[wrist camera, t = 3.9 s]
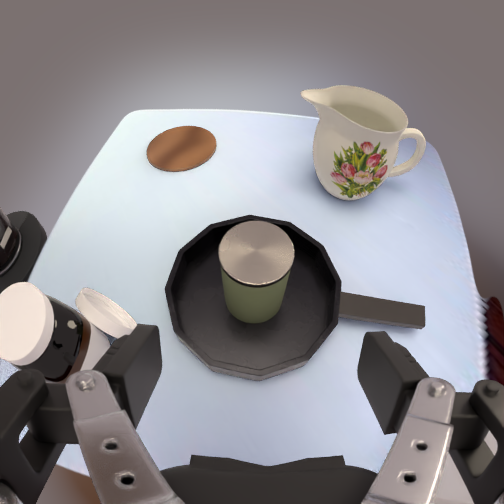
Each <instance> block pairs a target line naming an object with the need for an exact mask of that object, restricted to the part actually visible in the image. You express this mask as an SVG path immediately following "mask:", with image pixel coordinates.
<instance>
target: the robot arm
mask: <svg viewBox="0 0 504 504" xmlns="http://www.w3.org/2000/svg"><path fill="white" fill-rule="evenodd" d="M22 245H23V238H22V235H21V233H20V231H19V230H18V229H17V228H16V227H15V226H14V225H13V224H12V222H11V221H10V220H9V218H8V217H7V216H6V214H5V213H4V212H3V211H2V209H1V208H0V277H2V276H3V275H5V274H6V273H7V272H8V271H9V270H10V269H11V268H12V267H13V266H14V264H15V263H16V261H17V259H18V257H19V255H20V253H21V250H22ZM161 370H162V356H161V346H160V336H159V329H158V327H157V326H155V325H145V324H138V325H137V326H136V327H135V329H134V330H133V331H132V332H131V334H130V335H123V336H122V337H120V338H118V339H116V340H115V341H114V342H113V344H112V345H111V346H110V348H109V349H108V350H107V351H106V352H105V354H104V355H103V356H102V357H101V358H100V360H99V361H98V362H97V363H96V365H95V366H94V367H93V368H92V370H82V371H78V372H76V373H74V374H72V375H70V376H69V377H68V379H67V380H66V383H65V384H60V383H46V380H45V377H44V375H43V373H42V372H41V371H39V370H36V369H23V370H20V371H17V372H15V373H14V374H13V375H11V376H10V378H9V379H8V380H7V381H6V382H5V383H4V384H3V385H2V386H1V387H0V504H36V502H37V500H38V498H39V496H40V494H41V492H42V490H43V488H44V486H45V484H46V482H47V480H48V478H49V476H50V474H51V472H52V470H53V468H54V466H55V464H56V462H57V460H58V458H59V457H60V455H61V453H62V451H63V449H64V447H65V445H66V444H79V445H80V448H81V451H82V454H83V457H84V460H85V463H86V466H87V469H88V471H89V474H90V477H91V479H92V482H93V484H94V487H95V489H96V492H97V494H98V497H99V499H100V502H101V504H433V503H434V500H435V497H436V494H437V491H438V488H439V484H440V481H441V478H442V474H443V471H444V467H445V463H446V459H447V455H448V452H449V454H450V456H451V458H452V460H453V462H454V464H455V466H456V468H457V469H458V471H459V473H460V475H461V477H462V479H463V481H464V483H465V485H466V487H467V489H468V492H469V494H470V496H471V498H472V500H473V502H474V504H504V386H503V385H501V384H500V383H498V382H496V381H492V380H480V381H478V382H477V383H476V384H475V386H474V389H473V391H472V393H466V392H455V389H454V387H453V386H452V385H451V384H450V383H449V382H447V381H446V380H443V379H440V378H434V377H429V376H428V375H427V373H426V372H425V371H424V370H423V368H422V367H421V366H420V365H419V363H418V362H416V360H415V359H414V357H413V356H412V355H411V354H410V353H409V351H408V350H407V349H406V348H405V347H403V346H401V345H400V344H398V343H396V342H395V343H394V342H393V341H392V339H391V338H390V337H389V336H388V334H387V333H386V332H385V331H380V332H366V334H365V336H364V339H363V344H362V349H361V354H360V359H359V363H358V370H357V373H358V380H359V382H360V384H361V386H362V388H363V390H364V392H365V394H366V397H367V399H368V401H369V403H370V405H371V407H372V409H373V411H374V413H375V416H376V418H377V420H378V422H379V424H380V426H381V428H382V431H383V433H384V435H386V434H392V433H397V436H396V439H395V441H394V443H393V445H392V447H391V449H390V451H389V453H388V455H387V457H386V459H385V461H384V463H383V465H382V467H381V469H380V471H379V473H378V474H377V473H375V472H373V471H370V470H367V469H364V468H360V467H355V466H348V465H345V462H344V458H343V455H341V456H331V457H319V458H306V459H302V460H298V461H293V462H289V463H284V464H280V465H275V466H263V465H258V464H253V463H248V462H244V461H239V460H235V459H231V458H221V457H208V456H198V455H191V460H190V464H189V465H182V466H176V467H172V468H168V469H165V470H162V471H159V469H158V467H157V466H156V464H155V463H154V461H153V459H152V458H151V456H150V454H149V453H148V451H147V449H146V448H145V446H144V444H143V442H142V441H141V439H140V437H139V435H138V434H137V432H136V428H137V426H138V423H139V421H140V419H141V417H142V414H143V412H144V410H145V408H146V406H147V403H148V401H149V399H150V397H151V395H152V392H153V390H154V388H155V386H156V384H157V381H158V379H159V377H160V375H161ZM26 425H27V427H28V429H29V430H28V432H27V433H26V434H25V436H24V437H23V439H22V440H21V442H20V443H19V435H20V433H21V431H22V430H23V428H24V427H25V426H26ZM489 431H490V432H491V433H492V435H493V436H494V438H495V439H496V441H497V452H496V454H495V456H494V454H493V453H492V451H491V450H490V448H489V447H488V445H487V443H486V442H485V440H484V439H485V437H486V435H487V434H488V432H489Z"/></svg>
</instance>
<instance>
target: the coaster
mask: <svg viewBox="0 0 504 504" xmlns="http://www.w3.org/2000/svg"><path fill="white" fill-rule="evenodd" d="M215 150H216V139H215V137H214V135H213V134H212V133H211V132H209V131H208V130H206V129H204V128H201V127H196V126H181V127H176V128H172V129H169V130H167V131H164V132H163V133H161V134H159V135H158V136H156V137H155V138H154V139H153V140H152V141H151V142H150V144H149V146H148V148H147V158H148V160H149V162H150V163H151V164H152V165H153V166H154V167H156V168H158V169H160V170H164V171H172V172H176V171H184V170H189V169H192V168H195V167H197V166H199V165H201V164H203V163H205V162H206V161H207V160H209V159H210V158H211V156H212V155H213V154H214V152H215Z"/></svg>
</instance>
